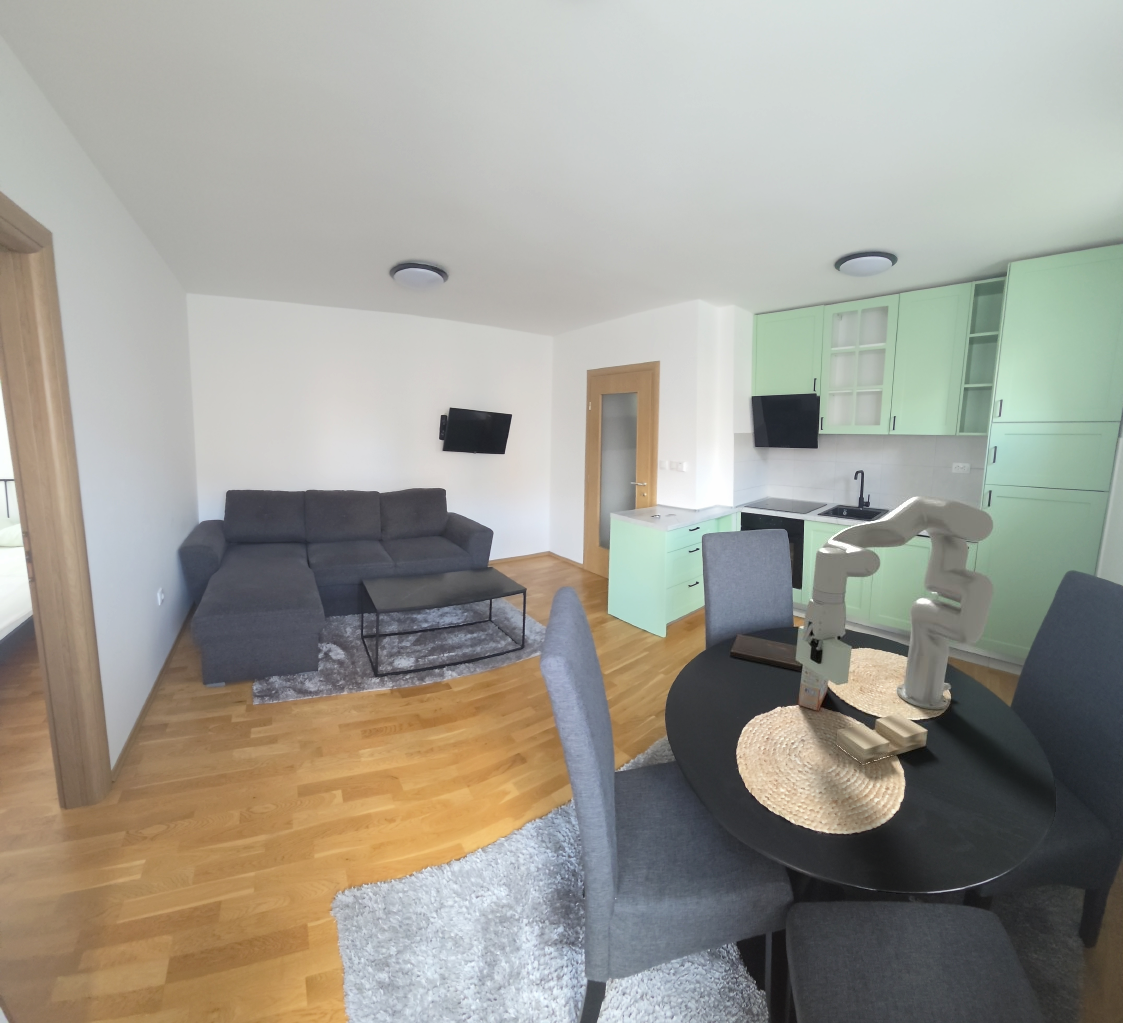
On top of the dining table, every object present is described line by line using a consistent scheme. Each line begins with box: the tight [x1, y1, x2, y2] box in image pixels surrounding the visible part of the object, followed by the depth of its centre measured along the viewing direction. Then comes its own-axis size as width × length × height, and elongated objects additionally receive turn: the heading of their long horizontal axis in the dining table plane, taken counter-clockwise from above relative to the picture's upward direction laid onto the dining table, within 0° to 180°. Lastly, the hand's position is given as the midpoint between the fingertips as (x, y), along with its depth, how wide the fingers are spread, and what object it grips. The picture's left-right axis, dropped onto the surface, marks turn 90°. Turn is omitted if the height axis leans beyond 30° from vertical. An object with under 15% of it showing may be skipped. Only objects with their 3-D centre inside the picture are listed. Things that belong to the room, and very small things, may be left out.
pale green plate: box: [796, 625, 853, 686], centre depth 134 cm, size 4×14×10 cm, turn 19°
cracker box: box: [798, 664, 829, 712], centre depth 151 cm, size 14×6×21 cm, turn 142°
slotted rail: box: [835, 712, 928, 765], centre depth 131 cm, size 22×8×4 cm, turn 109°
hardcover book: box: [729, 633, 802, 672], centre depth 181 cm, size 16×23×2 cm
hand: (821, 659), depth 134 cm, fingers closed on pale green plate, 3 cm apart
